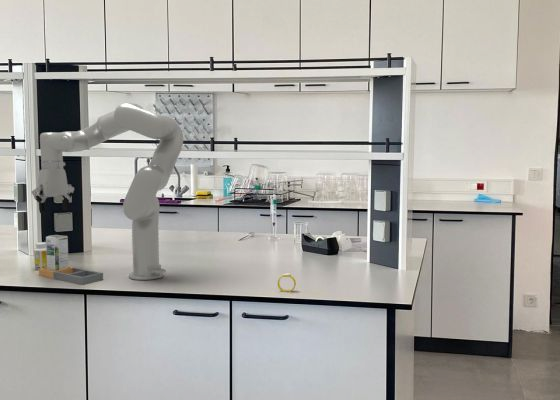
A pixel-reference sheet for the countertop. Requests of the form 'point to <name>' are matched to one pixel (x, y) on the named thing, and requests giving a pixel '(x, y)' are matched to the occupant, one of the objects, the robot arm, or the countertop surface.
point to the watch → (286, 276)
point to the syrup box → (57, 252)
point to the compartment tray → (72, 275)
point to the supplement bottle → (40, 255)
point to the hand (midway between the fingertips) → (54, 211)
